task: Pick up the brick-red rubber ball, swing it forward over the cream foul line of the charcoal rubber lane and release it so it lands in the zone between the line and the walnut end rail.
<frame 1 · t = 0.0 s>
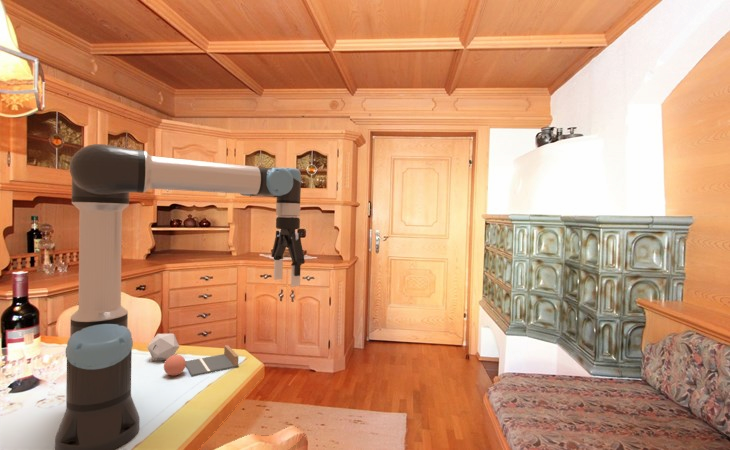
hand: (286, 282, 122), 28 cm above the table, fingers open, 13 cm apart
lane: (210, 365, 123), on the table
die: (163, 358, 128), on the table
ball: (174, 374, 115), on the table
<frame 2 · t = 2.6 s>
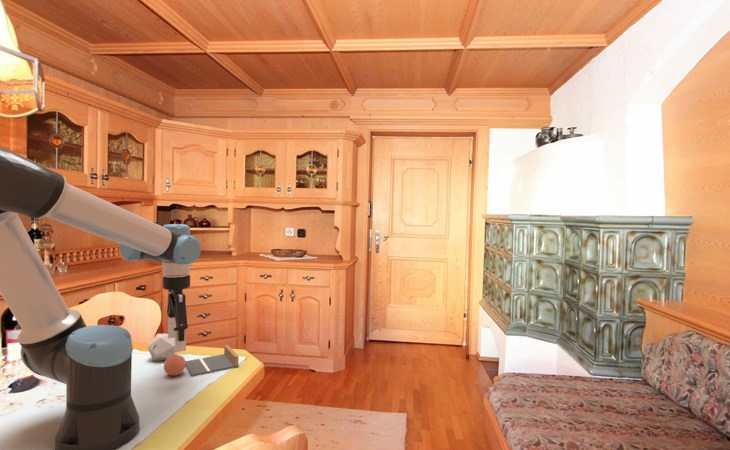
hand: (176, 344, 115), 9 cm above the table, fingers open, 13 cm apart
nothing on the table moved.
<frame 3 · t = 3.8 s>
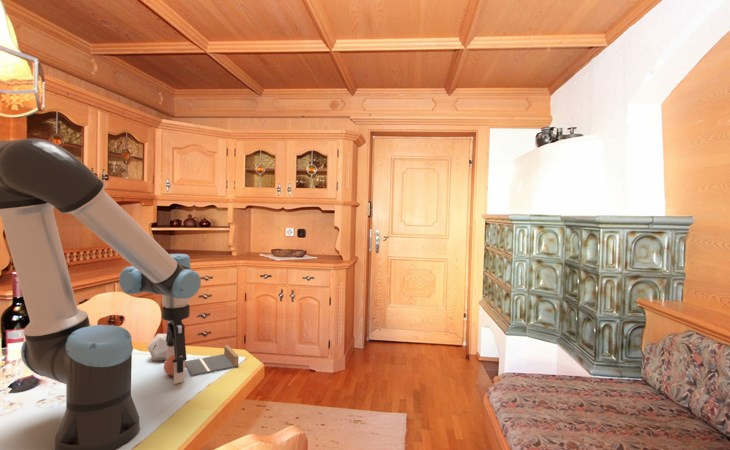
hand: (175, 374, 115), 0 cm above the table, fingers open, 13 cm apart
nothing on the table moved.
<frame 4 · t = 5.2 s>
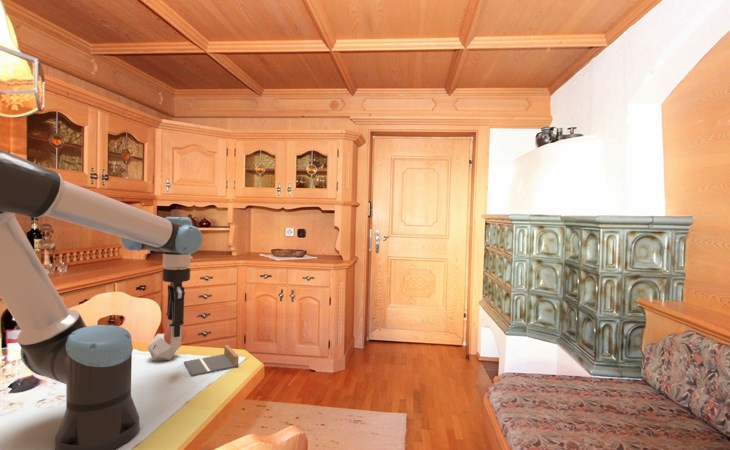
hand: (173, 343, 114), 10 cm above the table, fingers closed on ball, 6 cm apart
ball: (174, 344, 115), point 9 cm above the table, touching gripper
everything else where it was.
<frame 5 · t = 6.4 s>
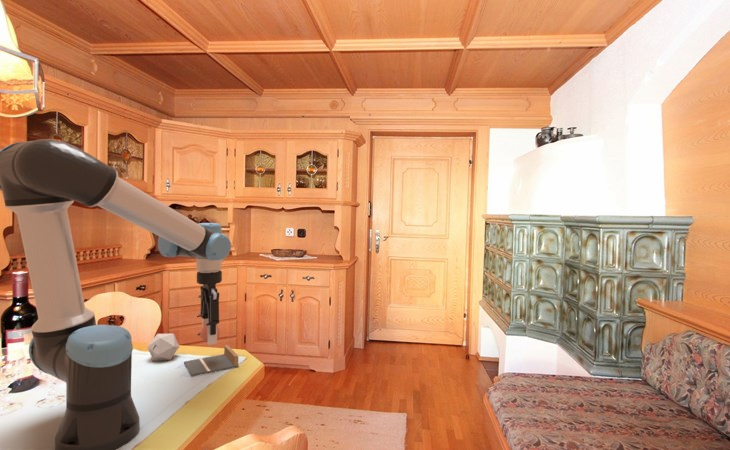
hand: (209, 340, 123), 8 cm above the table, fingers closed on ball, 6 cm apart
ball: (210, 341, 123), point 8 cm above the table, touching gripper
everything else where it was.
when the fingers open (2 cm above the table, at t = 7.6 s): ball stays where it is, resting on lane.
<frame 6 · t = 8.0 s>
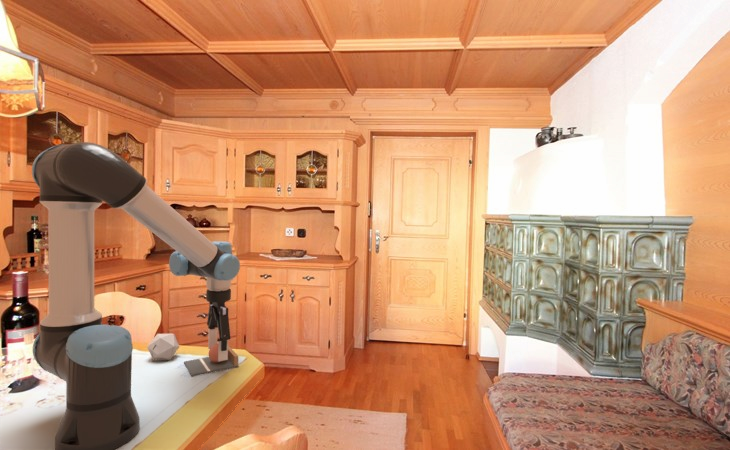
hand: (217, 353, 124), 3 cm above the table, fingers open, 12 cm apart
ball: (218, 361, 125), point 1 cm above the table, touching lane
everything else where it was.
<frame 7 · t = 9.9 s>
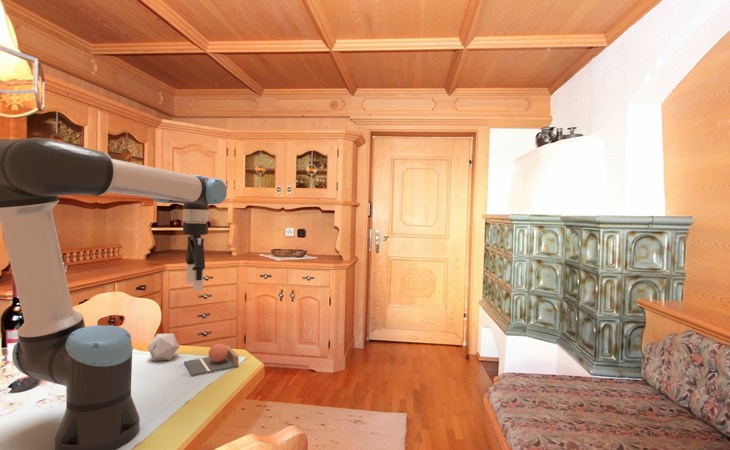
hand: (194, 286, 125), 25 cm above the table, fingers open, 13 cm apart
nothing on the table moved.
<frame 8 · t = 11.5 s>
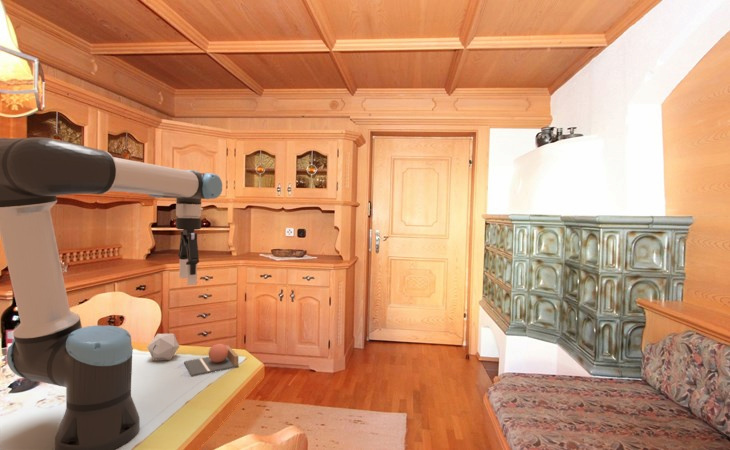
hand: (187, 281, 125), 27 cm above the table, fingers open, 13 cm apart
nothing on the table moved.
at the end: ball inside the target area on the lane (0.7 cm from its centre), point 0.6 cm above the lane's base; the gripper is holding nothing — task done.
